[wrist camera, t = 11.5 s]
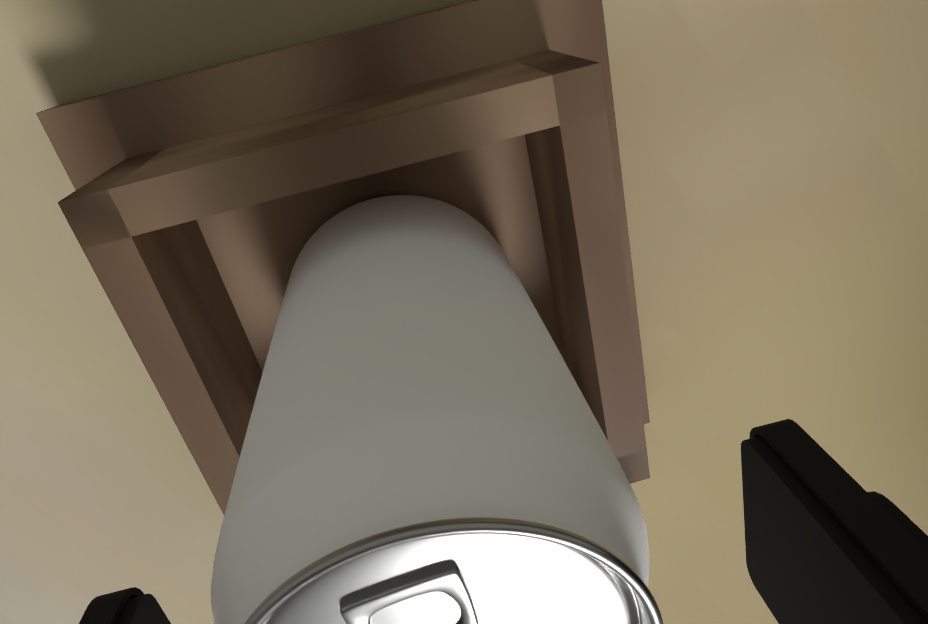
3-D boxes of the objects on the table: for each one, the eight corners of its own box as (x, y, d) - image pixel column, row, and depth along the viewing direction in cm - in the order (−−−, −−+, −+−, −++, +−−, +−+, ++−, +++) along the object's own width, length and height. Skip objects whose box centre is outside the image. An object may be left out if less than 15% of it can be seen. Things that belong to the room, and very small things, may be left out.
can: (343, 420, 20) (319, 889, 10) (247, 238, 17) (57, 623, 7) (536, 350, 20) (730, 747, 9) (472, 154, 17) (649, 410, 6)
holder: (583, -28, 17) (667, -40, 12) (636, 403, 23) (705, 503, 18) (57, 106, 16) (-64, 145, 12) (256, 506, 23) (228, 635, 18)
